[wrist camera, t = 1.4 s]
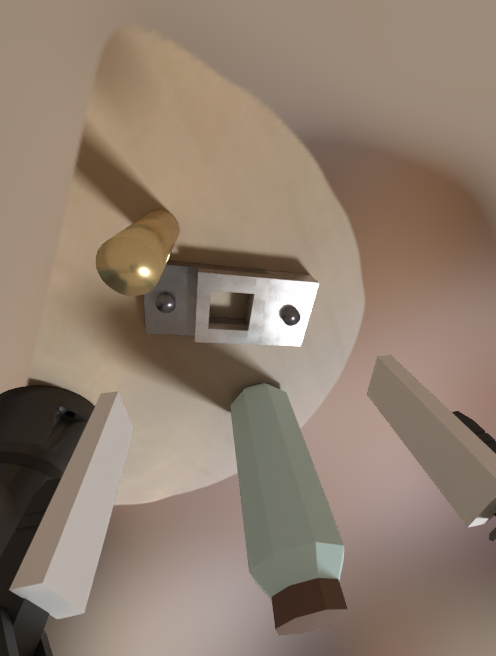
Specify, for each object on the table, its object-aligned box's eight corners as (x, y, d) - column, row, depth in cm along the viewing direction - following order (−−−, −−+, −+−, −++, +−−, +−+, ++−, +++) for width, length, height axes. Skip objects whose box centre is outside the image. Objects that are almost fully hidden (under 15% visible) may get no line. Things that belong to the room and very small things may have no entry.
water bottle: (235, 376, 39) (271, 612, 18) (294, 380, 42) (389, 593, 20) (224, 420, 44) (243, 648, 23) (278, 421, 46) (341, 629, 25)
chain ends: (148, 327, 33) (142, 343, 30) (144, 258, 28) (136, 268, 25) (293, 334, 37) (302, 349, 34) (310, 274, 32) (321, 285, 29)
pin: (145, 243, 28) (100, 293, 16) (143, 207, 26) (91, 233, 14) (179, 246, 28) (161, 297, 16) (179, 211, 27) (159, 240, 15)
